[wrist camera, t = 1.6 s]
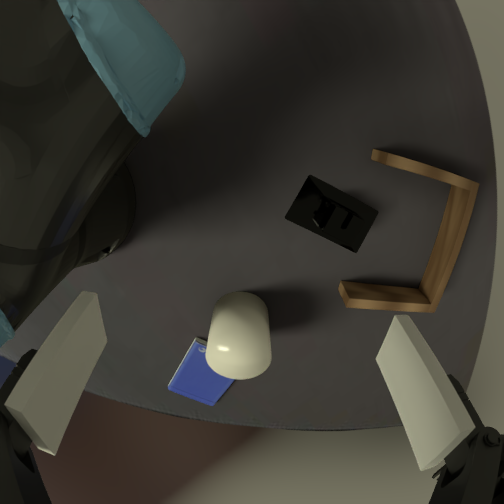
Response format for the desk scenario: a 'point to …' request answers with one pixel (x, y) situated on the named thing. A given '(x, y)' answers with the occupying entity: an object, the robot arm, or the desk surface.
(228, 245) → the desk surface
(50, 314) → the desk surface
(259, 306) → the cream cylinder
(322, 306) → the desk surface
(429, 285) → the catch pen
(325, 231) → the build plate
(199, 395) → the hard drive
